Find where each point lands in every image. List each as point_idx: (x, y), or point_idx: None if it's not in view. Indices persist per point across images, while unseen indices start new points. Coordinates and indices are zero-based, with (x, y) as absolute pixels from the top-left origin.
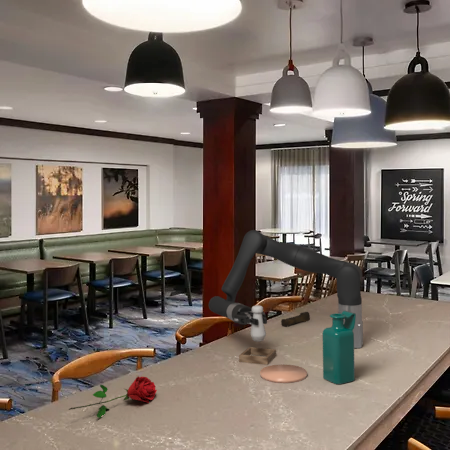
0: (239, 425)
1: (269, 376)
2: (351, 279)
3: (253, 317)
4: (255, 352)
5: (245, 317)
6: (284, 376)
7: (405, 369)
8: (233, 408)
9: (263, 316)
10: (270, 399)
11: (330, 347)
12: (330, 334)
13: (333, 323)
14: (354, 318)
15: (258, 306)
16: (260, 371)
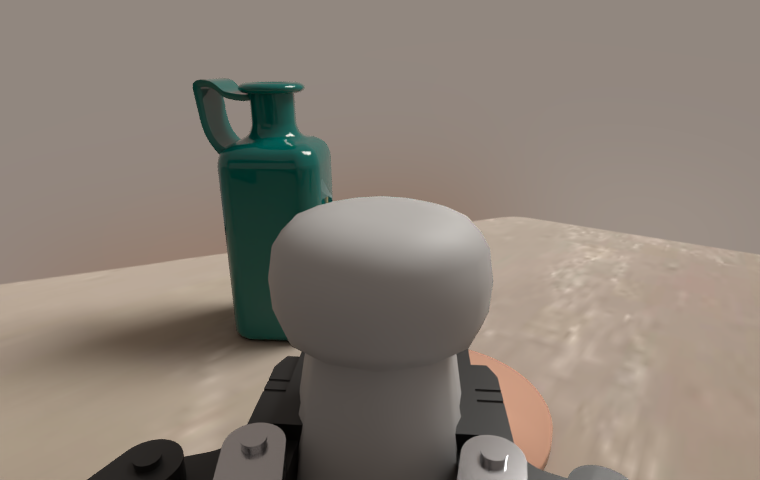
0: (705, 274)
1: (522, 397)
2: None
3: (459, 407)
4: None
5: (610, 477)
6: None
7: (62, 294)
8: (723, 318)
9: (194, 463)
10: (585, 315)
11: (329, 198)
12: (326, 150)
13: (294, 116)
14: (222, 99)
15: (385, 198)
16: (541, 459)
